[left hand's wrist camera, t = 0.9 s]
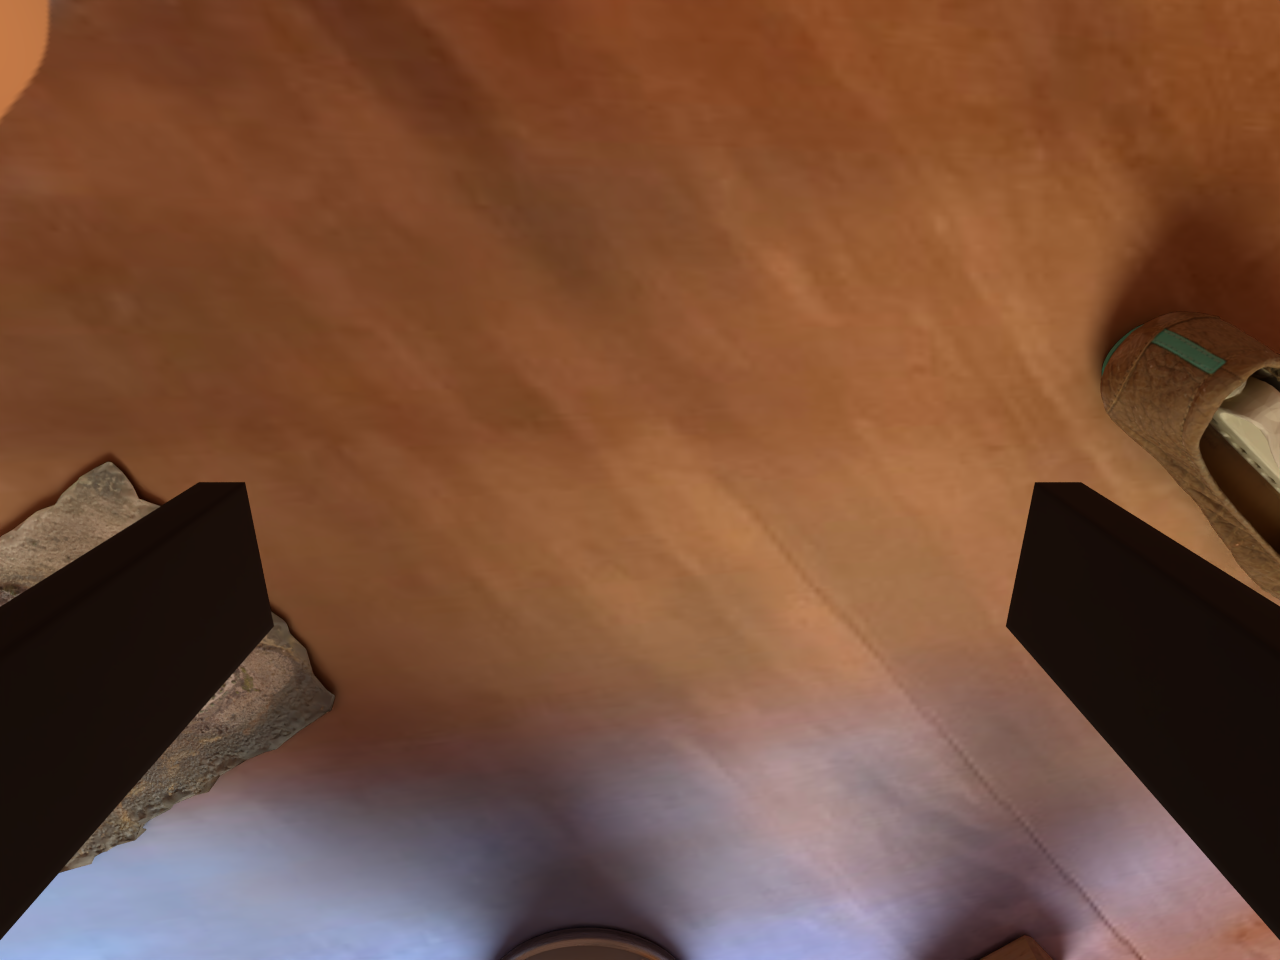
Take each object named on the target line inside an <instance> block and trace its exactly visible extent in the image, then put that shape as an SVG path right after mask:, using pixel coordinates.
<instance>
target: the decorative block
mask: <svg viewBox="0 0 1280 960" xmlns="http://www.w3.org/2000/svg"><path fill="white" fill-rule="evenodd" d="M980 960H1053V959H1052V958H1051V957H1050V956H1049V955H1048V954H1047V953H1046V952H1045V951H1044V950H1043V949H1042V948H1041V946H1040V945H1039V944H1038V943H1037V942H1036V941H1035V940H1034V939H1033V938H1032V937H1029V936H1026V935H1024V936H1022V937H1020V938H1018V939H1016V940H1014V941H1013V942H1011V943H1009V944H1007V945H1005V946H1003V947H1002V948H1000V949H998V950H996V951H994V952H993V953H991V954H989V955H987V956H985V957H983V958H982V959H980Z"/></svg>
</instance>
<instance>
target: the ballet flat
mask: <svg viewBox="0 0 1280 960" xmlns="http://www.w3.org/2000/svg"><path fill="white" fill-rule="evenodd" d="M1101 396H1102V400H1103V403H1104V407H1105V410H1106V412H1107V414H1108V415H1109V416H1110V418H1111V419H1112V420H1113V421H1114V422H1115V423H1116V424H1117V425H1118V426H1119V427H1120V428H1121V429H1122V430H1123V431H1124V432H1125V433H1126V434H1128V435H1129V436H1130V437H1131V438H1132V439H1133V440H1134V441H1136V442H1137V443H1138V444H1139V445H1140V446H1141V447H1143V448H1144V449H1145V450H1146V451H1147V452H1148V453H1150V454H1151V455H1152V456H1153V457H1154V458H1156V459H1157V461H1158V462H1159V463H1160V464H1161V465H1162V466H1163V467H1164V468H1165V469H1166V470H1167V471H1168V472H1169V474H1170V475H1171V476H1172V477H1173V478H1174V479H1175V481H1176V482H1177V483H1178V484H1179V486H1180V487H1182V489H1183V490H1184V491H1185V492H1186V493H1187V494H1189V495H1190V496H1191V497H1192V498H1193V500H1194V501H1195V502H1196V503H1197V504H1198V505H1199V507H1200V508H1201V510H1202V512H1203V513H1204V515H1205V516H1206V517H1207V519H1208V520H1209V522H1210V524H1211V526H1212V527H1213V529H1214V530H1215V531H1216V532H1217V534H1218V536H1219V537H1220V538H1221V539H1222V540H1223V542H1224V543H1225V544H1226V546H1227V547H1228V548H1229V549H1230V551H1231V552H1232V554H1233V556H1234V558H1235V560H1236V562H1237V563H1238V564H1239V565H1240V567H1241V568H1242V569H1243V570H1244V571H1245V572H1246V573H1247V574H1248V575H1249V577H1251V579H1252V580H1253V581H1254V582H1255V583H1256V584H1257V585H1259V586H1260V587H1261V588H1262V589H1263V590H1265V591H1266V592H1268V593H1270V594H1271V595H1273V596H1274V597H1276V598H1278V599H1280V355H1279V354H1276V353H1275V352H1274V351H1272V350H1271V349H1270V348H1268V347H1267V346H1266V345H1264V344H1262V343H1260V342H1259V341H1258V340H1256V339H1255V338H1253V337H1251V336H1249V335H1247V334H1246V333H1244V332H1243V331H1241V330H1240V329H1238V328H1237V327H1235V326H1234V325H1232V324H1230V323H1228V322H1226V321H1223V320H1221V319H1220V318H1219V317H1217V316H1212V315H1208V314H1203V313H1196V312H1173V313H1168V314H1165V315H1161V316H1159V317H1156V318H1154V319H1152V320H1150V321H1148V322H1147V323H1145V324H1142V325H1140V326H1138V327H1136V328H1135V329H1133V330H1131V331H1130V332H1129V333H1127V334H1126V335H1125V336H1124V337H1123V338H1121V339H1120V340H1119V341H1118V342H1117V343H1116V344H1115V345H1114V347H1113V348H1112V349H1111V350H1110V352H1109V353H1108V355H1107V357H1106V359H1105V361H1104V363H1103V368H1102V378H1101Z"/></svg>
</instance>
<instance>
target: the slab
mask: <svg viewBox="0 0 1280 960" xmlns="http://www.w3.org/2000/svg"><path fill="white" fill-rule="evenodd" d="M159 507H160V506H158V505H155V504H153V503H150V502H147V501H144V500H141V499H139V498H138V496H137V494H136V492H135V490H134V488H133V486H132V484H131V483H130V482H129V480H128V479H127V478H126V476H125V475H124V474H123V472H122V471H121V470H119V469H118V468H117V467H116V466H115V465H114V464H113V463H111V462H106V463H104V464H102V465H100V466H99V467H97V468H95V469H93V470H91V471H90V472H88V473H86V474H84V475H83V476H81V477H80V478H79V480H78V481H76V482H75V483H74V484H73V485H72V486H71V487H69V488H68V489H67V490H66V491H65V492H63V493H62V495H61V496H60V498H59V499H58V501H57V503H56V504H55V505H53V506H50V507H47V508H44V509H41V510H39V511H37V512H35V513H34V514H33V515H31V516H30V517H29V518H27V519H26V520H25V521H24V522H22V523H21V524H20V525H18V526H17V527H16V528H14V529H13V530H11V531H10V532H8V533H6V534H4V535H3V536H1V537H0V606H2V605H3V604H5V603H7V602H8V601H10V600H11V599H13V598H15V597H16V596H18V595H19V594H21V593H23V592H24V591H26V590H27V589H29V588H31V587H32V586H34V585H35V584H37V583H39V582H40V581H42V580H43V579H45V578H47V577H48V576H50V575H51V574H53V573H55V572H56V571H58V570H59V569H61V568H63V567H64V566H66V565H67V564H69V563H71V562H72V561H74V560H75V559H77V558H79V557H80V556H82V555H84V554H85V553H87V552H88V551H90V550H92V549H93V548H95V547H96V546H98V545H100V544H101V543H103V542H104V541H106V540H108V539H109V538H111V537H112V536H114V535H116V534H117V533H119V532H120V531H122V530H124V529H125V528H127V527H128V526H130V525H132V524H133V523H135V522H136V521H138V520H140V519H141V518H143V517H144V516H146V515H148V514H149V513H151V512H152V511H154V510H156V509H157V508H159ZM271 613H272V618H273V623H274V627H273V628H272V629H271V630H270V631H269V633H268V634H267V635H266V636H265V637H264V638H263V640H262V641H261V642H260V643H259V644H258V645H257V646H256V648H255V649H254V650H253V651H252V652H251V653H250V654H249V656H248V657H247V658H246V659H245V660H244V661H243V662H242V664H241V665H240V666H239V667H238V668H237V669H236V670H235V672H234V673H233V674H232V675H231V676H230V677H229V678H228V680H227V681H226V682H225V683H224V684H223V685H222V686H221V688H220V689H219V690H218V691H217V692H216V693H215V695H214V696H213V697H212V698H211V699H210V700H209V701H208V703H207V704H206V705H205V706H204V707H203V708H202V709H201V711H200V712H199V713H198V714H197V715H196V716H195V717H194V719H193V720H192V721H191V722H190V723H189V724H188V725H187V727H186V728H185V729H184V730H183V731H182V732H181V733H180V735H179V736H178V737H177V738H176V739H175V740H174V742H173V743H172V744H171V745H170V746H169V747H168V748H167V750H166V751H165V752H164V753H163V754H162V755H161V756H160V758H159V759H158V760H157V761H156V762H155V763H154V764H153V766H152V767H151V768H150V769H149V770H148V771H147V772H146V774H145V775H144V776H143V777H142V778H141V779H140V780H139V782H138V783H137V784H136V785H135V786H134V787H133V789H132V790H131V791H130V792H129V793H128V794H127V795H126V797H125V798H124V799H123V800H122V801H121V802H120V803H119V805H118V806H117V807H116V808H115V809H114V810H113V811H112V813H111V814H110V815H109V816H108V817H107V818H106V819H105V821H104V822H103V823H102V824H101V825H100V826H99V827H98V829H97V830H96V831H95V832H94V833H93V834H92V835H91V837H90V838H89V839H88V840H87V841H86V842H85V844H84V845H83V846H82V847H81V848H80V849H79V850H78V852H77V853H76V854H75V855H74V856H73V857H72V858H71V860H70V861H69V862H68V863H67V864H66V865H65V866H64V868H63V869H62V870H61V871H60V872H59V873H61V872H64V871H67V870H71V869H74V868H78V867H82V866H85V865H89V864H92V861H93V859H94V857H95V856H97V855H99V854H100V853H102V852H106V851H108V850H109V849H111V848H113V847H115V846H116V845H119V844H123V843H127V842H130V841H134V840H136V839H137V838H138V837H139V836H140V835H141V834H142V833H144V832H145V831H146V829H144V828H143V826H144V824H145V823H146V822H148V821H149V820H150V819H152V818H154V817H156V816H158V815H160V814H162V813H164V812H166V811H167V810H169V809H171V807H172V806H173V805H174V804H176V803H178V802H180V801H183V800H185V799H187V798H190V797H192V796H194V795H198V794H202V793H206V792H209V791H210V789H211V788H212V786H213V785H214V784H215V782H216V781H217V779H218V778H219V777H220V775H222V774H224V773H225V772H227V771H229V770H230V769H232V768H234V767H235V766H237V765H239V764H241V763H242V762H244V761H246V760H247V759H250V758H252V757H255V756H257V755H259V754H262V753H264V752H267V751H271V750H275V749H278V748H279V747H280V746H281V745H282V744H283V743H284V742H285V741H287V740H288V739H289V738H291V737H292V736H293V735H294V734H296V733H297V732H298V731H300V730H301V729H303V728H304V727H306V726H307V725H309V724H310V723H312V722H313V721H315V720H316V719H318V718H319V717H321V716H322V715H324V714H325V713H326V712H329V711H331V710H332V706H333V702H334V699H335V695H333V694H332V693H330V692H329V691H328V690H326V689H325V687H324V686H323V685H322V684H321V683H320V682H319V680H318V679H317V678H316V677H315V676H314V674H313V671H312V668H311V664H310V661H309V657H308V654H307V650H306V649H305V648H304V647H303V646H302V645H301V644H300V643H299V642H298V641H297V640H296V639H295V638H294V637H293V636H292V635H291V634H290V632H289V629H288V626H287V624H286V623H285V621H284V620H283V619H281V618H280V617H279V616H277V615H276V614H274V613H273V612H271Z"/></svg>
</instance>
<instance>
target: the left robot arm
mask: <svg viewBox="0 0 1280 960" xmlns="http://www.w3.org/2000/svg"><path fill="white" fill-rule="evenodd" d="M273 627H274V623H273V618H272V613H271V608H270V604H269V599H268V594H267V589H266V584H265V579H264V574H263V569H262V564H261V559H260V554H259V549H258V544H257V539H256V534H255V529H254V524H253V519H252V515H251V510H250V505H249V500H248V495H247V490H246V485H245V482H199V483H197V484H196V485H194V486H192V487H191V488H189V489H188V490H186V491H184V492H183V493H181V494H180V495H178V496H176V497H175V498H173V499H172V500H170V501H168V502H167V503H165V504H164V505H162V506H160V507H159V508H157V509H156V510H154V511H152V512H151V513H149V514H148V515H146V516H144V517H143V518H141V519H140V520H138V521H136V522H135V523H133V524H132V525H130V526H128V527H127V528H125V529H124V530H122V531H120V532H119V533H117V534H116V535H114V536H112V537H111V538H109V539H108V540H106V541H104V542H103V543H101V544H100V545H98V546H96V547H95V548H93V549H92V550H90V551H88V552H87V553H85V554H84V555H82V556H80V557H79V558H77V559H75V560H74V561H72V562H71V563H69V564H67V565H66V566H64V567H63V568H61V569H59V570H58V571H56V572H55V573H53V574H51V575H50V576H48V577H47V578H45V579H43V580H42V581H40V582H39V583H37V584H35V585H34V586H32V587H31V588H29V589H27V590H26V591H24V592H23V593H21V594H19V595H18V596H16V597H15V598H13V599H11V600H10V601H8V602H7V603H5V604H3V605H2V606H0V940H1V939H2V938H3V936H4V935H5V934H6V933H7V932H8V931H9V929H10V928H11V927H12V926H13V925H14V924H15V923H16V921H17V920H18V919H19V918H20V917H21V916H22V915H23V913H24V912H25V911H26V910H27V909H28V908H29V907H30V905H31V904H32V903H33V902H34V901H35V900H36V899H37V897H38V896H39V895H40V894H41V893H42V892H43V891H44V889H45V888H46V887H47V886H48V885H49V884H50V882H51V881H52V880H53V879H54V878H55V877H56V876H57V874H58V873H59V872H60V871H61V870H62V869H63V868H64V866H65V865H66V864H67V863H68V862H69V861H70V860H71V858H72V857H73V856H74V855H75V854H76V853H77V852H78V850H79V849H80V848H81V847H82V846H83V845H84V844H85V842H86V841H87V840H88V839H89V838H90V837H91V835H92V834H93V833H94V832H95V831H96V830H97V829H98V827H99V826H100V825H101V824H102V823H103V822H104V821H105V819H106V818H107V817H108V816H109V815H110V814H111V813H112V811H113V810H114V809H115V808H116V807H117V806H118V805H119V803H120V802H121V801H122V800H123V799H124V798H125V797H126V795H127V794H128V793H129V792H130V791H131V790H132V789H133V787H134V786H135V785H136V784H137V783H138V782H139V780H140V779H141V778H142V777H143V776H144V775H145V774H146V772H147V771H148V770H149V769H150V768H151V767H152V766H153V764H154V763H155V762H156V761H157V760H158V759H159V758H160V756H161V755H162V754H163V753H164V752H165V751H166V750H167V748H168V747H169V746H170V745H171V744H172V743H173V742H174V740H175V739H176V738H177V737H178V736H179V735H180V733H181V732H182V731H183V730H184V729H185V728H186V727H187V725H188V724H189V723H190V722H191V721H192V720H193V719H194V717H195V716H196V715H197V714H198V713H199V712H200V711H201V709H202V708H203V707H204V706H205V705H206V704H207V703H208V701H209V700H210V699H211V698H212V697H213V696H214V695H215V693H216V692H217V691H218V690H219V689H220V688H221V686H222V685H223V684H224V683H225V682H226V681H227V680H228V678H229V677H230V676H231V675H232V674H233V673H234V672H235V670H236V669H237V668H238V667H239V666H240V665H241V664H242V662H243V661H244V660H245V659H246V658H247V657H248V656H249V654H250V653H251V652H252V651H253V650H254V649H255V648H256V646H257V645H258V644H259V643H260V642H261V641H262V640H263V638H264V637H265V636H266V635H267V634H268V633H269V631H270V630H271V629H272V628H273ZM1006 627H1007V628H1008V629H1009V630H1010V631H1011V633H1012V634H1013V635H1014V636H1015V637H1016V638H1017V640H1018V641H1019V642H1020V643H1021V644H1022V645H1023V646H1024V648H1025V649H1026V650H1027V651H1028V652H1029V653H1030V654H1031V656H1032V657H1033V658H1034V659H1035V660H1036V661H1037V662H1038V664H1039V665H1040V666H1041V667H1042V668H1043V669H1044V670H1045V672H1046V673H1047V674H1048V675H1049V676H1050V677H1051V678H1052V680H1053V681H1054V682H1055V683H1056V684H1057V685H1058V686H1059V688H1060V689H1061V690H1062V691H1063V692H1064V693H1065V695H1066V696H1067V697H1068V698H1069V699H1070V700H1071V701H1072V703H1073V704H1074V705H1075V706H1076V707H1077V708H1078V709H1079V711H1080V712H1081V713H1082V714H1083V715H1084V716H1085V717H1086V719H1087V720H1088V721H1089V722H1090V723H1091V724H1092V725H1093V727H1094V728H1095V729H1096V730H1097V731H1098V732H1099V733H1100V735H1101V736H1102V737H1103V738H1104V739H1105V740H1106V742H1107V743H1108V744H1109V745H1110V746H1111V747H1112V748H1113V750H1114V751H1115V752H1116V753H1117V754H1118V755H1119V756H1120V758H1121V759H1122V760H1123V761H1124V762H1125V763H1126V764H1127V766H1128V767H1129V768H1130V769H1131V770H1132V771H1133V772H1134V774H1135V775H1136V776H1137V777H1138V778H1139V779H1140V780H1141V782H1142V783H1143V784H1144V785H1145V786H1146V787H1147V789H1148V790H1149V791H1150V792H1151V793H1152V794H1153V795H1154V797H1155V798H1156V799H1157V800H1158V801H1159V802H1160V803H1161V805H1162V806H1163V807H1164V808H1165V809H1166V810H1167V811H1168V813H1169V814H1170V815H1171V816H1172V817H1173V818H1174V819H1175V821H1176V822H1177V823H1178V824H1179V825H1180V826H1181V827H1182V829H1183V830H1184V831H1185V832H1186V833H1187V834H1188V835H1189V837H1190V838H1191V839H1192V840H1193V841H1194V842H1195V844H1196V845H1197V846H1198V847H1199V848H1200V849H1201V850H1202V852H1203V853H1204V854H1205V855H1206V856H1207V857H1208V858H1209V860H1210V861H1211V862H1212V863H1213V864H1214V865H1215V866H1216V868H1217V869H1218V870H1219V871H1220V872H1221V873H1222V874H1223V876H1224V877H1225V878H1226V879H1227V880H1228V881H1229V882H1230V884H1231V885H1232V886H1233V887H1234V888H1235V889H1236V891H1237V892H1238V893H1239V894H1240V895H1241V896H1242V897H1243V899H1244V900H1245V901H1246V902H1247V903H1248V904H1249V905H1250V907H1251V908H1252V909H1253V910H1254V911H1255V912H1256V913H1257V915H1258V916H1259V917H1260V918H1261V919H1262V920H1263V921H1264V923H1265V924H1266V925H1267V926H1268V927H1269V928H1270V929H1271V931H1272V932H1273V933H1274V934H1275V935H1276V936H1277V938H1278V939H1279V940H1280V606H1278V605H1277V604H1275V603H1273V602H1272V601H1270V600H1269V599H1267V598H1265V597H1264V596H1262V595H1261V594H1259V593H1257V592H1256V591H1254V590H1253V589H1251V588H1249V587H1248V586H1246V585H1245V584H1243V583H1241V582H1240V581H1238V580H1237V579H1235V578H1233V577H1232V576H1230V575H1229V574H1227V573H1225V572H1224V571H1222V570H1221V569H1219V568H1217V567H1216V566H1214V565H1213V564H1211V563H1209V562H1208V561H1206V560H1205V559H1203V558H1201V557H1200V556H1198V555H1196V554H1195V553H1193V552H1192V551H1190V550H1188V549H1187V548H1185V547H1184V546H1182V545H1180V544H1179V543H1177V542H1176V541H1174V540H1172V539H1171V538H1169V537H1168V536H1166V535H1164V534H1163V533H1161V532H1160V531H1158V530H1156V529H1155V528H1153V527H1152V526H1150V525H1148V524H1147V523H1145V522H1144V521H1142V520H1140V519H1139V518H1137V517H1136V516H1134V515H1132V514H1131V513H1129V512H1128V511H1126V510H1124V509H1123V508H1121V507H1120V506H1118V505H1116V504H1115V503H1113V502H1112V501H1110V500H1108V499H1107V498H1105V497H1104V496H1102V495H1100V494H1099V493H1097V492H1096V491H1094V490H1092V489H1091V488H1089V487H1088V486H1086V485H1084V484H1083V483H1081V482H1035V485H1034V490H1033V495H1032V500H1031V505H1030V510H1029V515H1028V519H1027V524H1026V529H1025V534H1024V539H1023V544H1022V549H1021V554H1020V559H1019V564H1018V569H1017V574H1016V579H1015V584H1014V589H1013V594H1012V599H1011V604H1010V608H1009V613H1008V618H1007V623H1006ZM501 960H676V959H675V958H674V957H673V956H672V955H671V954H669V953H668V952H667V951H666V950H664V949H663V948H661V947H659V946H658V945H656V944H654V943H652V942H650V941H648V940H646V939H644V938H641V937H639V936H636V935H633V934H630V933H626V932H622V931H618V930H612V929H604V928H571V929H563V930H558V931H553V932H550V933H546V934H543V935H540V936H537V937H535V938H532V939H530V940H528V941H526V942H524V943H522V944H520V945H519V946H517V947H516V948H514V949H513V950H511V951H510V952H509V953H508V954H506V955H505V956H504V957H503V958H502V959H501Z"/></svg>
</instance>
